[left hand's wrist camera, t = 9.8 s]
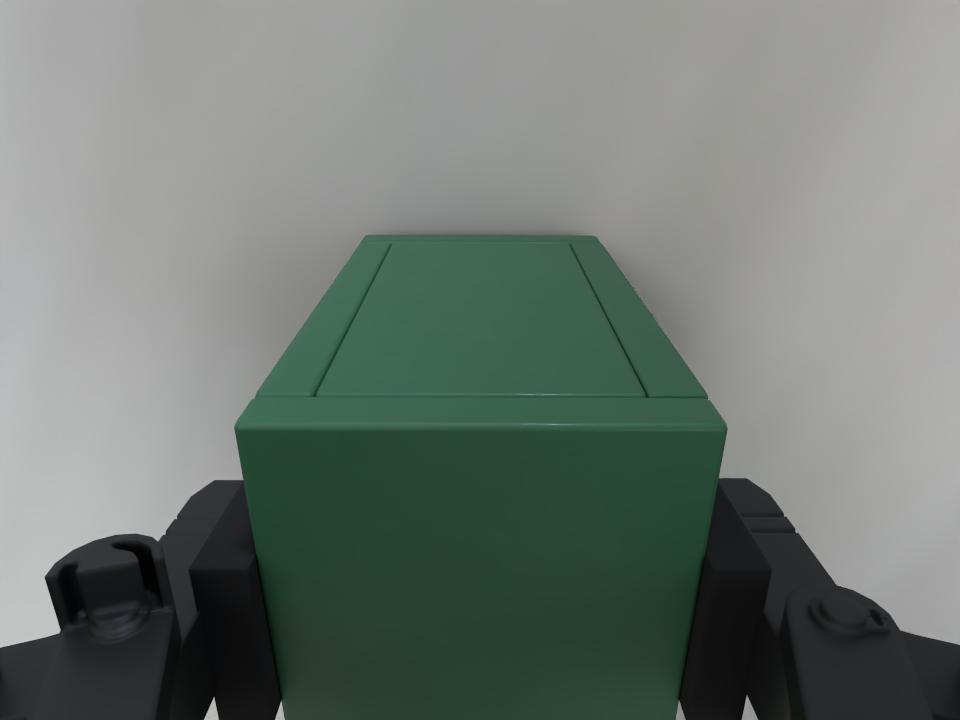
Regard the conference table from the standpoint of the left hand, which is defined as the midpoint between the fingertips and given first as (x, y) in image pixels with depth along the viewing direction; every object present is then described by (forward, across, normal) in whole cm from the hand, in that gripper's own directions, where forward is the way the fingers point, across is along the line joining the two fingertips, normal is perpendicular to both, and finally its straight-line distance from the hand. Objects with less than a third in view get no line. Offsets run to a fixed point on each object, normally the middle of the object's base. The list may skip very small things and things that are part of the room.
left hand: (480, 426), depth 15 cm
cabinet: (+4, 0, -6) cm, 7 cm away
